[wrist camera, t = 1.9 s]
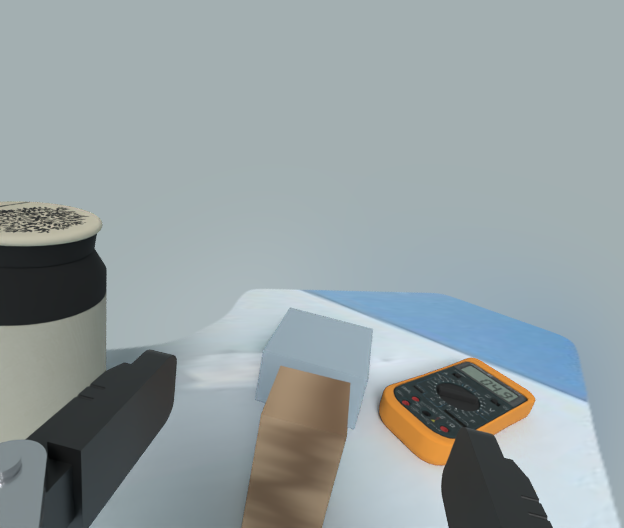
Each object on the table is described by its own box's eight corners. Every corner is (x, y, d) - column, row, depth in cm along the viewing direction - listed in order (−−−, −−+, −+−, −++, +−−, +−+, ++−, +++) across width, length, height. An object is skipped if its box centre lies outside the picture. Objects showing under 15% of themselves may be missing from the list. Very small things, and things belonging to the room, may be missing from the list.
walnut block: (240, 534, 25) (261, 414, 21) (260, 472, 29) (280, 365, 26) (314, 556, 24) (346, 436, 21) (322, 489, 29) (350, 382, 26)
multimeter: (366, 414, 38) (374, 387, 37) (465, 375, 49) (473, 353, 48) (432, 481, 32) (444, 450, 31) (529, 419, 43) (541, 395, 42)
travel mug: (128, 439, 30) (136, 223, 24) (28, 530, 23) (3, 250, 17) (53, 403, 32) (42, 195, 26) (-62, 476, 25) (-112, 209, 19)
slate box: (254, 401, 37) (263, 350, 35) (282, 350, 46) (289, 307, 44) (353, 431, 36) (368, 379, 34) (361, 372, 45) (372, 329, 43)
